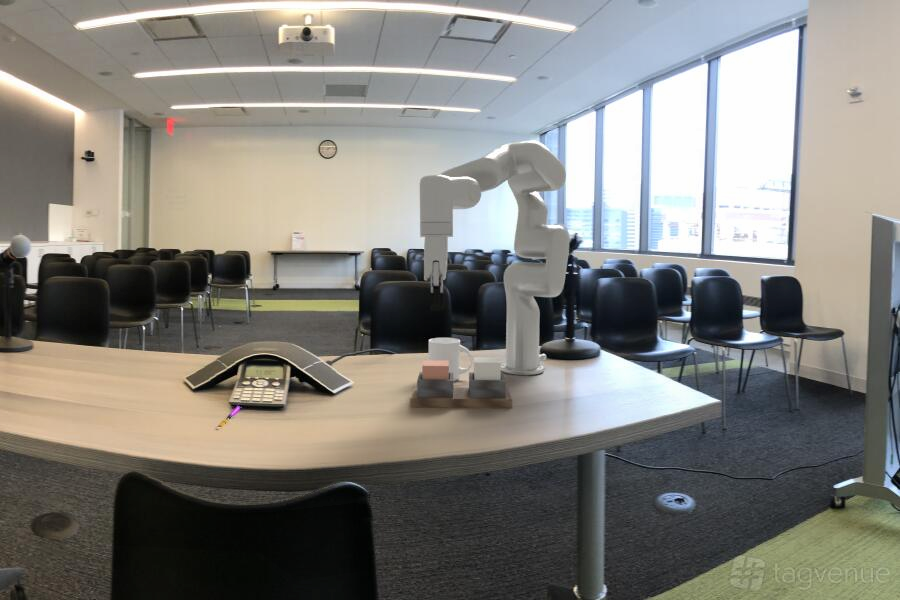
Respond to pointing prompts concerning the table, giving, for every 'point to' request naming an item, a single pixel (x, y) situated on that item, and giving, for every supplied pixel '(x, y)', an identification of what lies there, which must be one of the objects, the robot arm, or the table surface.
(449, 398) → the key panel
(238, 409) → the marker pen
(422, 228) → the robot arm
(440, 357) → the mug
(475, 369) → the cream key
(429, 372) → the terracotta key
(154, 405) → the table surface
